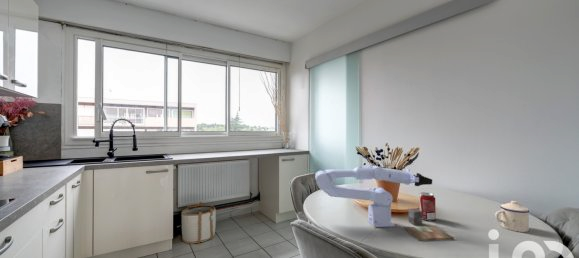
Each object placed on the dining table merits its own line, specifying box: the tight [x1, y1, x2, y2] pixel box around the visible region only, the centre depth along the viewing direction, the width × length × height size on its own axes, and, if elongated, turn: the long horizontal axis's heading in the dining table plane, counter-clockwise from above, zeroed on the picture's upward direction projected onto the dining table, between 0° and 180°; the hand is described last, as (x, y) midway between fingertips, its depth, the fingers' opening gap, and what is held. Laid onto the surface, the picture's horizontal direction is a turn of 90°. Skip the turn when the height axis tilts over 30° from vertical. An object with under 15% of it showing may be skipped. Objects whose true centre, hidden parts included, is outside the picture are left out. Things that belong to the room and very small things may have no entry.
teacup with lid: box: [494, 200, 530, 233], centre depth 103 cm, size 12×9×12 cm
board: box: [403, 225, 455, 242], centre depth 97 cm, size 14×11×1 cm
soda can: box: [418, 191, 437, 222], centre depth 114 cm, size 7×7×12 cm
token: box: [408, 208, 423, 226], centre depth 109 cm, size 4×4×6 cm
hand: (427, 180), depth 108 cm, fingers open, 7 cm apart
